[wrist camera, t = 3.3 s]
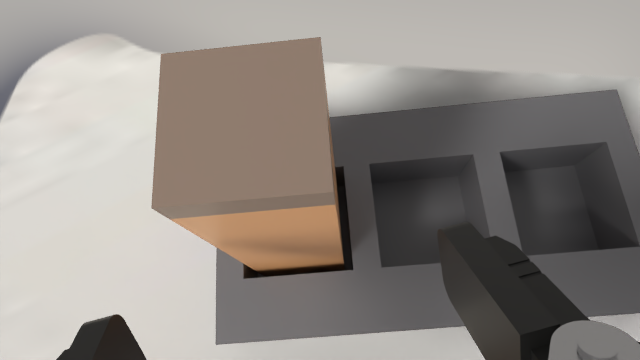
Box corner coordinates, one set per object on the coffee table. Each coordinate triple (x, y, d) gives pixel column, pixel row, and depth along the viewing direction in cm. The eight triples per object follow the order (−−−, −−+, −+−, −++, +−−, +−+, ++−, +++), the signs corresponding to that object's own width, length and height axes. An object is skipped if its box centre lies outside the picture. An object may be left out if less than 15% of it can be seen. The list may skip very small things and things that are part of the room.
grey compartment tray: (579, 122, 24) (616, 89, 20) (637, 312, 20) (692, 308, 17) (235, 155, 25) (217, 128, 21) (237, 342, 21) (215, 344, 18)
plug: (338, 194, 23) (320, 37, 11) (344, 270, 21) (333, 191, 9) (263, 200, 23) (161, 53, 11) (265, 276, 22) (151, 207, 9)
